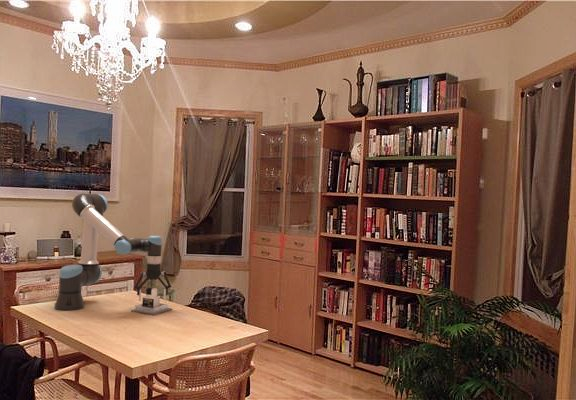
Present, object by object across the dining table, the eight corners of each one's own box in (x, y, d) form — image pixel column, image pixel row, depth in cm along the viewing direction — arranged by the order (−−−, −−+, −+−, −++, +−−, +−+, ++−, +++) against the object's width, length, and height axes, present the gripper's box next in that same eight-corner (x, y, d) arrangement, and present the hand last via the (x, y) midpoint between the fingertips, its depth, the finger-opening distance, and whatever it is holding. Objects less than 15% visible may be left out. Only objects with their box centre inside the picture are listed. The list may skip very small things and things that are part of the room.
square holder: (130, 311, 262) (131, 305, 262) (149, 306, 276) (149, 300, 276) (154, 315, 255) (154, 309, 255) (172, 309, 270) (172, 304, 270)
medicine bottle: (141, 309, 263) (142, 288, 263) (148, 307, 270) (149, 286, 270) (153, 311, 261) (154, 289, 262) (159, 308, 268) (160, 287, 268)
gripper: (131, 264, 258) (129, 302, 258) (177, 263, 267) (175, 301, 267) (130, 262, 265) (128, 299, 265) (175, 262, 274) (173, 298, 274)
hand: (152, 300), depth 266 cm, fingers open, 13 cm apart
